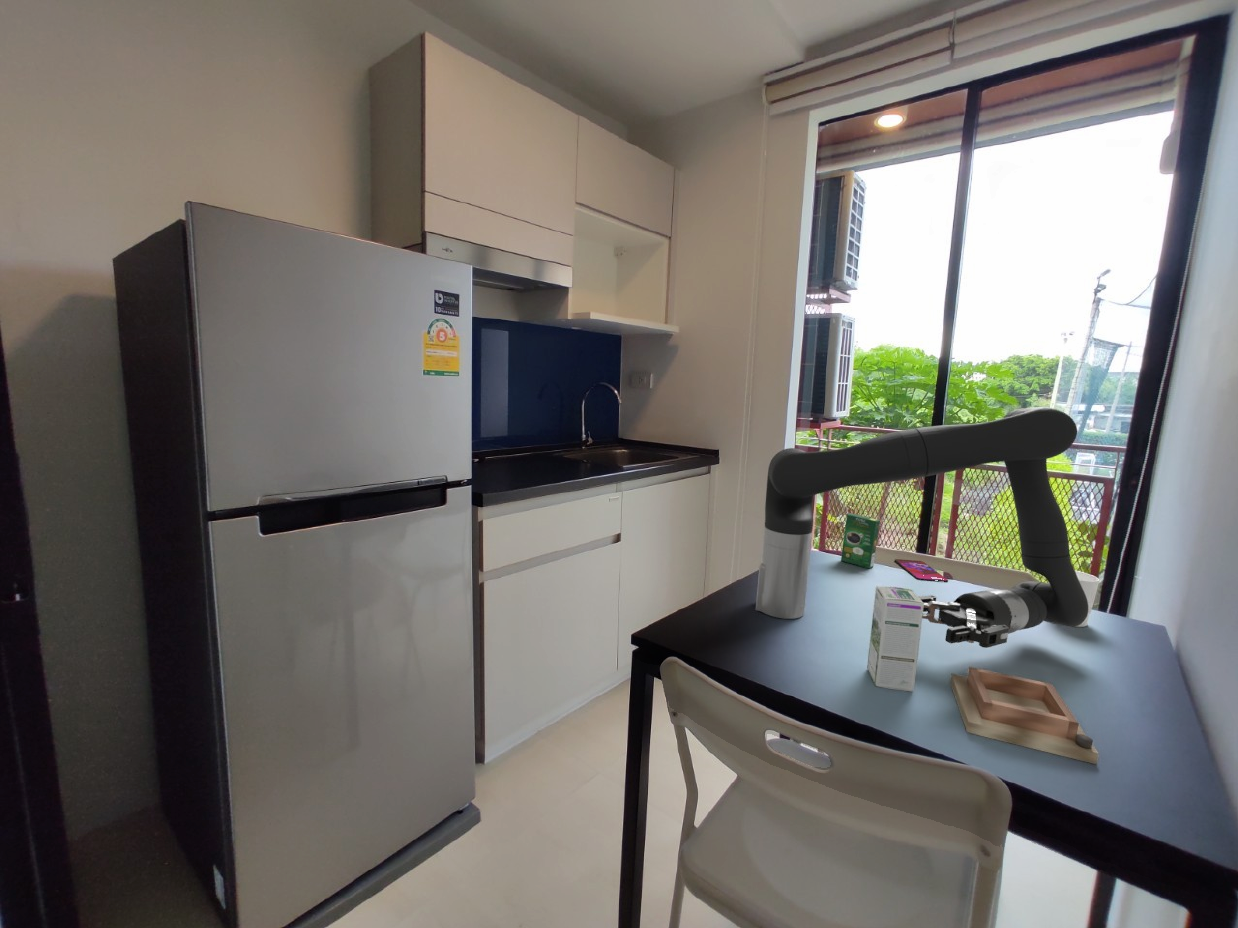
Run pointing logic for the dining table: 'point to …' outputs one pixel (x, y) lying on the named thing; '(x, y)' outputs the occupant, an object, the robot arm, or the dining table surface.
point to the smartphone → (920, 570)
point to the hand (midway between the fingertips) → (923, 624)
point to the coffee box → (860, 540)
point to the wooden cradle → (1020, 713)
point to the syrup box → (895, 638)
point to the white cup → (1088, 591)
